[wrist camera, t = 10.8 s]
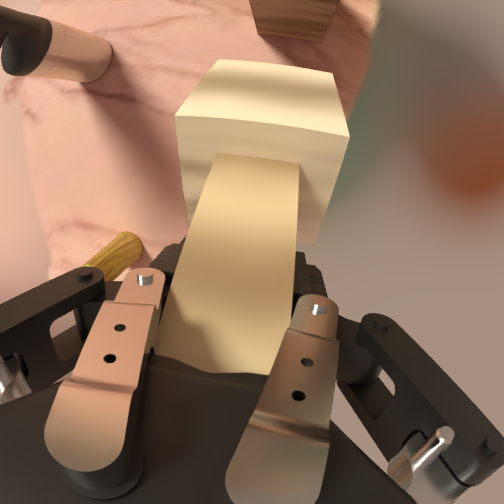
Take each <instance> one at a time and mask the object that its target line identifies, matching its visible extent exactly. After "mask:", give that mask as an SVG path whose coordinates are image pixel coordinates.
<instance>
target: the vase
mask: <svg viewBox="0 0 504 504" xmlns="http://www.w3.org/2000/svg"><path fill="white" fill-rule="evenodd" d="M142 251H143V248H142V244H141V241H140V240H139V239H138V237H137V236H136V235H134V234H133V233H130V232H122V233H120V234H119V235H118V236H117V237H116V238H115V239H114V240H113V241H111V242H110V243H109V244H108V245H107V246H106V247H104V248H103V249H102V250H101V251H100V252H98V253H97V254H96V255H95V256H94V257H93V258H91V259H90V260H89V261H88V262H87V263H85V264H84V265H83V266H81V267H85V266H92V267H97V268H99V269H101V270H102V271H103V273H104V280H105V281H113V280H114V279H116V278H117V277H118V276H119V275H120V274H121V273H122V272H123V271H124V270H125V269H127V268H128V267H129V266H130V265H131V264H133V263H134V262H135V261H137V260H138V259H139V258H140V257H141V255H142Z"/></svg>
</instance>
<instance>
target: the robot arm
mask: <svg viewBox="0 0 504 504" xmlns="http://www.w3.org/2000/svg"><path fill="white" fill-rule="evenodd" d="M2 44H3V46H2ZM1 46H2V53H1V62H2V66H3V69H4V71H5V72H6V73H8V74H10V75H13V76H30V77H43V78H54V79H63V80H71V81H78V82H86V83H88V82H92V81H95V80H96V79H98V78H99V77H100V76H102V75H103V74H104V72H105V71H106V70H107V68H108V66H109V64H110V61H111V57H112V49H111V46H110V44H109V42H108V41H106V40H105V39H103V38H100V37H97V36H95V35H92V34H90V33H87V32H84V31H82V30H79V29H76V28H73V27H70V26H67V25H64V24H61V23H58V22H55V21H51V20H48V19H45V18H42V17H38V16H34V15H29V14H25V13H22V12H18V11H16V10H13V9H9V8H6V7H3V6H0V48H1ZM186 236H187V235H186ZM185 239H186V237H185V238H184V239H183V240H182V241H181V243H180V244H175V243H174V244H171V245H169V246H167V247H165V248H164V249H163V250H162V252H161V253H160V254H159V255H158V256H157V258H155V259H154V261H153V262H152V263H151V264H150V265H149V266H148V268H137V269H134V270H131V271H130V272H128V273H127V274H126V276H125V278H124V280H123V281H105V280H104V273H103V271H102V270H101V269H99V268H97V267H92V266H85V267H80V268H76V269H74V270H72V271H69V272H67V273H65V274H63V275H61V276H58V277H56V278H54V279H52V280H50V281H48V282H45V283H43V284H41V285H39V286H37V287H35V288H33V289H31V290H29V291H27V292H24V293H23V294H20V295H19V296H16V297H14V298H12V299H10V300H9V301H6V302H4V303H2V304H0V504H452V503H454V502H456V501H457V500H458V499H460V498H461V497H463V496H464V495H466V494H467V493H469V492H470V491H471V490H473V489H474V488H475V487H476V486H478V485H479V484H481V483H482V482H483V481H484V480H486V479H487V478H488V477H489V476H491V475H492V474H493V473H494V472H495V471H497V470H498V469H499V468H500V467H501V466H502V465H504V437H503V436H502V435H501V433H500V432H499V431H498V430H497V429H496V428H495V427H494V425H493V424H492V423H491V422H490V421H489V420H488V418H487V417H486V416H485V415H484V414H483V413H482V412H481V411H480V409H479V408H478V407H477V406H476V405H475V404H474V403H473V402H472V401H471V400H470V398H469V397H468V396H467V395H466V394H465V393H464V392H463V391H462V390H461V389H460V388H459V387H458V385H457V384H456V383H454V381H453V380H452V379H451V378H450V377H449V376H448V375H447V374H446V373H445V372H444V371H443V370H442V369H441V368H440V367H439V365H438V364H437V363H436V362H435V361H434V360H433V359H432V358H431V357H430V356H429V355H428V354H427V353H426V352H425V351H424V350H423V349H422V348H421V347H420V346H419V345H418V344H417V343H416V342H415V341H414V340H413V339H412V338H411V337H410V336H409V335H408V334H407V333H406V332H405V331H404V330H403V329H402V328H401V327H400V326H399V325H398V324H397V323H396V322H395V321H394V320H392V319H391V318H389V317H387V316H385V315H382V314H376V313H370V314H367V315H365V316H363V318H362V320H361V323H358V322H355V321H352V320H349V319H346V318H344V317H342V316H340V315H338V314H339V308H338V306H337V304H336V303H335V302H334V301H332V300H331V299H329V298H328V296H327V292H326V288H325V285H324V281H323V277H322V273H321V271H320V270H319V269H318V268H317V267H316V266H315V265H308V264H306V259H305V254H304V252H297V251H296V253H295V269H294V284H293V298H292V311H291V322H290V325H289V328H287V329H286V331H285V334H284V337H283V340H282V342H281V345H280V348H279V350H278V353H277V356H276V358H275V361H274V363H273V366H272V369H271V371H270V374H269V375H263V374H256V373H249V372H239V373H208V372H205V371H202V370H200V369H197V368H195V367H192V366H190V365H188V364H185V363H183V362H181V361H178V360H176V359H174V358H170V357H166V356H161V355H159V343H158V327H159V324H160V320H161V317H162V313H163V310H164V306H165V303H166V299H167V296H168V293H169V289H170V286H171V283H172V280H173V276H174V273H175V270H176V267H177V264H178V261H179V258H180V255H181V251H182V248H183V245H184V242H185ZM72 310H73V311H74V316H75V321H76V325H74V326H72V327H71V328H69V329H67V330H66V331H64V332H62V333H61V334H59V335H57V336H56V337H54V338H51V335H50V326H51V324H52V323H53V321H54V320H56V319H58V318H59V317H61V316H63V315H65V314H67V313H68V312H70V311H72ZM73 369H74V371H73V373H72V376H71V377H70V378H67V379H65V380H62V381H60V382H57V383H55V384H53V383H54V382H55V381H57V380H58V379H60V378H61V377H63V376H64V375H66V374H67V373H69V372H70V371H72V370H73ZM382 369H383V370H384V371H385V372H386V373H387V374H388V376H389V377H390V378H391V379H392V380H393V382H394V385H395V394H394V396H393V395H392V394H391V392H390V391H389V390H388V389H387V387H386V386H385V385H384V383H383V382H382V381H381V380H380V378H379V377H378V376H379V374H380V372H381V370H382ZM336 380H337V385H338V387H339V389H340V390H341V392H342V393H343V395H344V396H345V398H346V399H347V401H348V402H349V404H350V405H351V407H352V408H353V410H354V411H355V413H356V414H357V416H358V418H359V419H360V421H361V422H362V424H363V425H364V427H365V428H366V430H367V431H368V433H369V434H370V436H371V437H372V439H373V440H374V442H375V443H376V445H377V446H378V448H379V449H380V451H381V452H382V454H383V455H384V457H385V458H386V460H387V462H388V463H389V464H388V468H387V472H388V475H387V474H386V473H385V472H384V471H383V470H382V469H381V468H380V467H379V466H378V465H376V464H375V463H374V462H373V461H372V460H371V459H370V458H369V457H368V456H367V455H366V454H365V453H364V452H363V451H362V450H361V449H360V448H359V447H358V446H356V444H355V443H354V442H353V441H352V440H351V439H350V438H348V437H347V435H345V433H344V432H343V431H342V430H340V428H339V427H338V426H337V425H336V424H335V423H334V422H333V421H332V420H331V419H330V416H331V410H332V404H333V397H334V390H335V382H336ZM51 384H52V385H51Z"/></svg>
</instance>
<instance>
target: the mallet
mask: <svg viewBox="0 0 504 504" xmlns="http://www.w3.org/2000/svg"><path fill="white" fill-rule="evenodd" d="M175 126H176V135H177V144H178V153H179V161H180V169H181V177H182V185H183V192H184V199H185V207H186V213H187V220H188V227H190V228H189V231H188V234H187V236H186V239H185V242H184V245H183V248H182V251H181V255H180V258H179V261H178V264H177V267H176V270H175V273H174V276H173V280H172V283H171V286H170V289H169V293H168V296H167V299H166V303H165V306H164V310H163V313H162V317H161V320H160V324H159V327H158V343H159V355H161V356H166V357H170V358H174V359H176V360H178V361H181V362H183V363H185V364H188V365H190V366H192V367H195V368H197V369H200V370H202V371H205V372H208V373H239V372H249V373H256V374H263V375H269V374H270V371H271V369H272V366H273V363H274V361H275V358H276V356H277V353H278V350H279V348H280V345H281V342H282V340H283V337H284V334H285V331H286V329H287V328H289V325H290V322H291V311H292V298H293V284H294V269H295V253H296V242H297V243H303V244H310V245H314V243H315V241H316V238H317V235H318V232H319V229H320V227H321V224H322V221H323V218H324V215H325V212H326V209H327V207H328V204H329V201H330V198H331V195H332V192H333V189H334V186H335V182H336V179H337V177H338V174H339V170H340V167H341V164H342V161H343V158H344V154H345V151H346V148H347V145H348V142H349V138H350V136H349V132H348V127H347V123H346V120H345V116H344V112H343V108H342V105H341V101H340V98H339V94H338V91H337V87H336V84H335V81H334V77H333V74H332V73H328V72H323V71H318V70H312V69H307V68H300V67H294V66H287V65H280V64H272V63H263V62H252V61H240V60H222V59H219V60H218V61H217V62H216V63H215V64H214V66H213V67H212V68H211V69H210V70H209V72H208V73H207V74H206V75H205V76H204V78H203V79H202V80H201V81H200V83H199V84H198V85H197V86H196V88H195V89H194V90H193V91H192V93H191V94H190V95H189V97H188V98H187V99H186V101H185V102H184V103H183V105H182V106H181V107H180V109H179V110H178V111H177V113H176V114H175Z"/></svg>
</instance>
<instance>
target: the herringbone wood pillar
mask: <svg viewBox="0 0 504 504" xmlns="http://www.w3.org/2000/svg"><path fill="white" fill-rule="evenodd" d="M339 1H340V0H249V2H250V6H251V9H252V13H253V17H254V21H255V25H256V29H257V33H258V34H264V35H274V36H282V37H290V38H297V39H303V40H309V41H315V42H320V43H321V40H322V38H323V36H324V34H325V32H326V29H327V27H328V25H329V23H330V21H331V19H332V16H333V14H334V12H335V10H336V8H337V6H338V3H339Z"/></svg>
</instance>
